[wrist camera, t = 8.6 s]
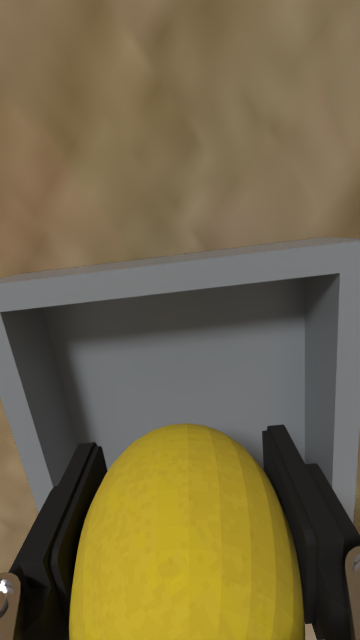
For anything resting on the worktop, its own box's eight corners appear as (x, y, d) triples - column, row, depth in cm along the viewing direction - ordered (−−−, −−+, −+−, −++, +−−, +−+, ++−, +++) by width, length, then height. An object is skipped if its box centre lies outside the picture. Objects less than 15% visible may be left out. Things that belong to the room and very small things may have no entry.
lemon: (283, 446, 12) (471, 852, 4) (180, 517, 13) (175, 941, 5) (190, 351, 11) (206, 660, 3) (87, 438, 12) (-96, 825, 4)
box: (17, 274, 14) (-37, 287, 10) (323, 237, 13) (371, 239, 10) (81, 506, 18) (58, 571, 14) (318, 486, 17) (351, 549, 14)
